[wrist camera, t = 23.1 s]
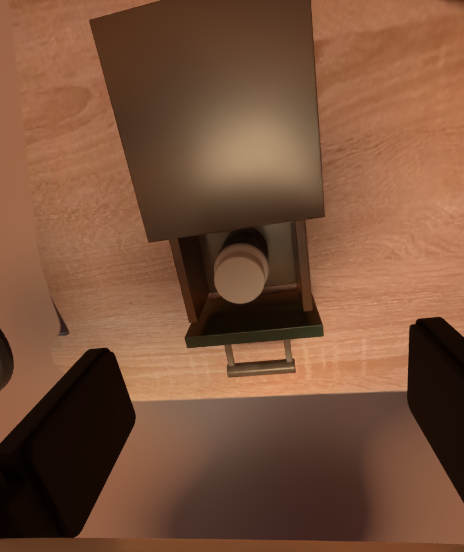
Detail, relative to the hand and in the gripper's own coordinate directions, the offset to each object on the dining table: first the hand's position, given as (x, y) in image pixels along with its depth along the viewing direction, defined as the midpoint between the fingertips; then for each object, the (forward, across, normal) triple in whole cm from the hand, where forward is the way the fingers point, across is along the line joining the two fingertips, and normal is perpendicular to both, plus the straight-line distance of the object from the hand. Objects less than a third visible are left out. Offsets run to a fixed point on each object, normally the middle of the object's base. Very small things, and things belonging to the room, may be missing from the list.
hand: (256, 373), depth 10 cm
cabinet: (+24, +2, -9) cm, 26 cm away
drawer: (+23, +2, +5) cm, 24 cm away
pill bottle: (+22, +2, +2) cm, 23 cm away
